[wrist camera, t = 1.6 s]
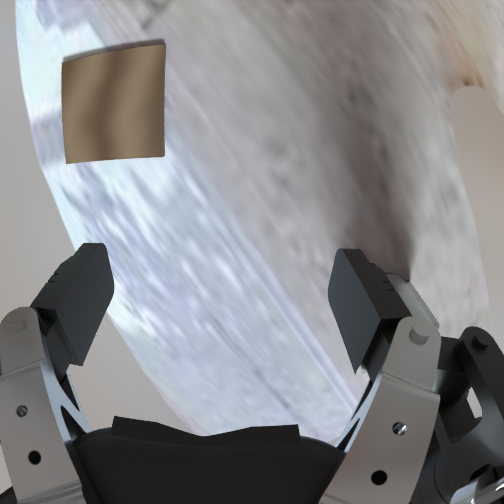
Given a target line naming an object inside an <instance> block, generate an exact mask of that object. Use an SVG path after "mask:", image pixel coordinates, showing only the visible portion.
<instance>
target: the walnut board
mask: <svg viewBox="0 0 504 504" xmlns="http://www.w3.org/2000/svg"><path fill="white" fill-rule="evenodd" d="M165 58H166V45H165V44H162V45H152V46H144V47H136V48H130V49H123V50H117V51H112V52H106V53H101V54H97V55H92V56H88V57H83V58H79V59H75V60H71V61H68V62H64V63H62V121H63V136H64V148H65V157H66V164H71V163H80V162H90V161H101V160H114V159H130V158H150V157H164V156H165V145H164V87H165Z"/></svg>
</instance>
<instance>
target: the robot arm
mask: <svg viewBox="0 0 504 504" xmlns="http://www.w3.org/2000/svg"><path fill="white" fill-rule="evenodd" d="M113 294H114V279H113V275H112V271H111V267H110V262H109V258H108V253H107V249H106V246H105V245H104V244H103V243H83V244H82V245H81V247H80V248H79V249H78V250H77V252H76V253H75V254H74V256H71V257H70V258H69V259H67V260H66V261H64V262H63V263H62V264H60V266H59V267H58V268H57V270H56V271H55V272H54V275H52V276H51V277H50V279H49V280H48V283H46V284H45V285H44V287H43V288H42V290H41V291H40V293H39V294H38V295H37V297H36V298H35V299H34V301H33V302H32V304H31V305H30V307H20V308H17V309H15V310H13V311H11V312H9V313H8V314H7V315H6V316H5V317H4V318H3V320H2V322H1V324H0V443H1V446H2V450H3V454H4V458H5V462H6V465H7V469H8V473H9V476H10V479H11V482H12V485H13V486H12V487H10V488H9V489H7V490H6V491H5V492H3V493H2V494H0V504H504V355H503V353H502V351H501V350H500V348H499V347H498V345H497V343H496V342H495V340H494V339H493V337H492V336H491V335H490V334H489V333H488V332H486V331H485V330H483V329H481V328H479V327H474V326H471V327H468V328H466V329H465V330H464V331H463V333H462V335H461V336H460V338H459V339H456V338H449V337H442V336H440V333H439V331H438V328H439V323H438V321H437V320H436V318H435V317H434V315H433V314H432V312H431V311H430V309H429V308H428V306H427V305H426V304H425V302H424V301H423V299H422V298H421V296H420V295H419V294H418V292H417V291H416V289H415V288H414V287H413V285H412V284H411V282H405V281H404V280H403V279H402V278H401V277H399V276H397V275H394V274H385V273H384V271H382V270H381V269H380V268H379V267H377V266H376V265H375V264H373V263H369V261H368V260H367V258H366V257H365V255H364V254H363V252H362V251H361V250H360V249H341V248H340V249H338V250H337V253H336V256H335V260H334V265H333V269H332V273H331V278H330V282H329V286H328V299H329V303H330V306H331V309H332V311H333V314H334V317H335V319H336V322H337V325H338V327H339V330H340V333H341V336H342V338H343V341H344V344H345V347H346V350H347V352H348V355H349V358H350V361H351V364H352V367H353V370H354V373H355V375H356V374H364V373H368V375H369V377H370V379H369V381H368V383H367V385H366V387H365V389H364V391H363V393H362V395H361V398H360V400H359V402H358V404H357V406H356V408H355V410H354V412H353V414H352V416H351V418H350V420H349V422H348V424H347V426H346V427H345V429H344V431H343V432H342V434H341V436H340V437H339V439H338V440H337V442H336V444H335V445H334V446H332V445H330V444H328V443H326V442H323V441H320V440H317V439H314V438H310V437H306V436H300V434H299V428H298V424H296V425H282V426H259V427H249V428H244V429H240V430H235V431H231V432H226V433H221V434H216V435H211V436H198V435H194V434H191V433H188V432H184V431H181V430H178V429H175V428H172V427H169V426H166V425H163V424H160V423H157V422H151V421H144V420H136V419H130V418H123V417H118V416H114V419H113V424H112V427H109V428H103V429H98V430H95V431H94V430H93V429H92V427H91V426H90V424H89V422H88V420H87V419H86V416H85V414H84V412H83V409H82V407H81V404H80V402H79V399H78V397H77V394H76V391H75V389H74V386H73V383H72V380H71V377H70V375H69V373H68V371H67V368H68V366H69V364H74V365H78V366H83V363H84V361H85V358H86V356H87V353H88V351H89V348H90V346H91V344H92V341H93V339H94V337H95V334H96V332H97V330H98V328H99V325H100V323H101V321H102V319H103V317H104V314H105V312H106V310H107V308H108V306H109V304H110V302H111V299H112V297H113ZM471 387H472V388H473V390H474V392H475V394H476V397H477V399H478V401H479V403H480V406H481V408H482V417H478V418H474V415H473V413H472V410H471V408H470V406H469V403H468V401H467V397H468V393H469V389H470V388H471Z"/></svg>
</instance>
